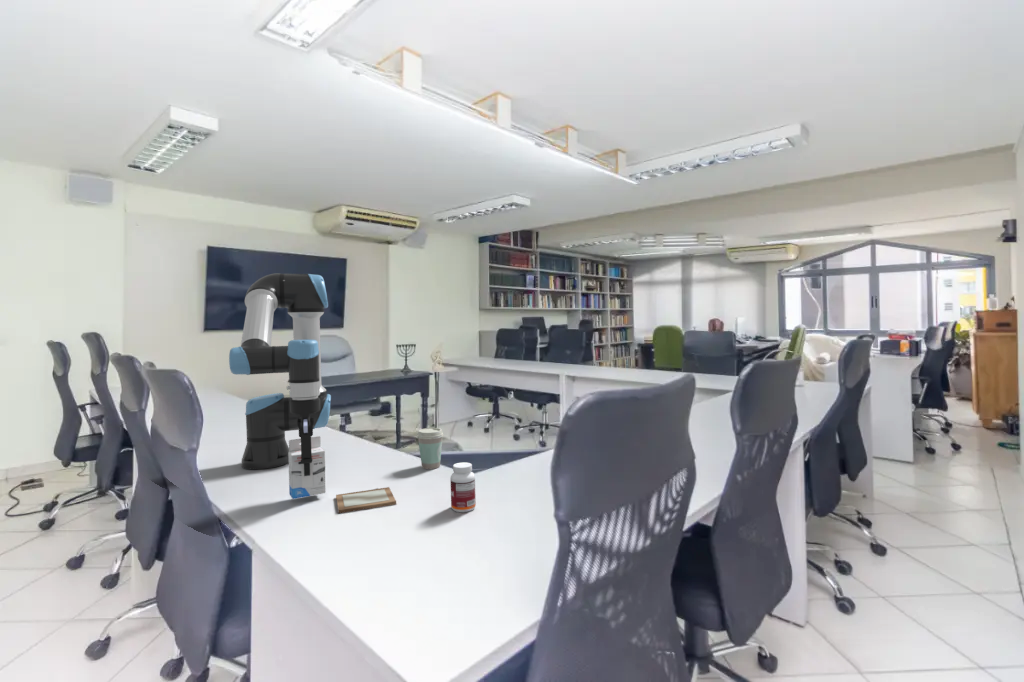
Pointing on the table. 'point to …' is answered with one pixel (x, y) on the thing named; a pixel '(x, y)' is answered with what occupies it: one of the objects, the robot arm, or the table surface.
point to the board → (365, 500)
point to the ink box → (295, 469)
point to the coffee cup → (430, 447)
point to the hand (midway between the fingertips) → (307, 483)
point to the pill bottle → (463, 488)
